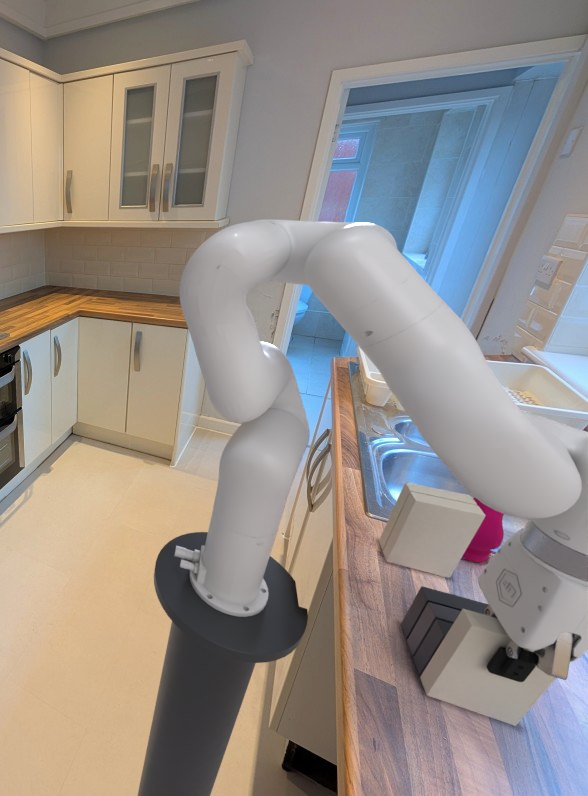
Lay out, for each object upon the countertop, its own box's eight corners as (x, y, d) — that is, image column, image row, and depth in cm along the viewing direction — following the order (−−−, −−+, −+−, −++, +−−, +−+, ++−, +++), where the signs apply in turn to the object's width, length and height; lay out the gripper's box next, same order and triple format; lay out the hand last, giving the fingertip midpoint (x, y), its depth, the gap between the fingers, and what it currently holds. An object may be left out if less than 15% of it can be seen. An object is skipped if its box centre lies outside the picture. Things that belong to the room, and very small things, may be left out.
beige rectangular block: (386, 561, 76) (415, 500, 70) (378, 541, 81) (405, 481, 75) (449, 578, 73) (486, 515, 67) (437, 555, 77) (470, 495, 71)
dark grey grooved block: (418, 675, 59) (443, 635, 55) (400, 624, 65) (421, 585, 62) (504, 703, 55) (536, 663, 52) (475, 647, 62) (502, 607, 58)
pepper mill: (447, 557, 77) (498, 467, 68) (431, 530, 83) (475, 444, 74) (499, 569, 74) (558, 478, 66) (478, 540, 81) (529, 453, 72)
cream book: (426, 695, 56) (471, 625, 50) (419, 677, 58) (462, 608, 52) (515, 726, 53) (575, 655, 47) (505, 706, 55) (561, 636, 49)
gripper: (489, 493, 52) (431, 595, 60) (577, 601, 39) (488, 716, 47) (572, 509, 50) (500, 614, 58) (698, 632, 36) (582, 748, 44)
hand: (496, 659), depth 52 cm, fingers open, 3 cm apart
